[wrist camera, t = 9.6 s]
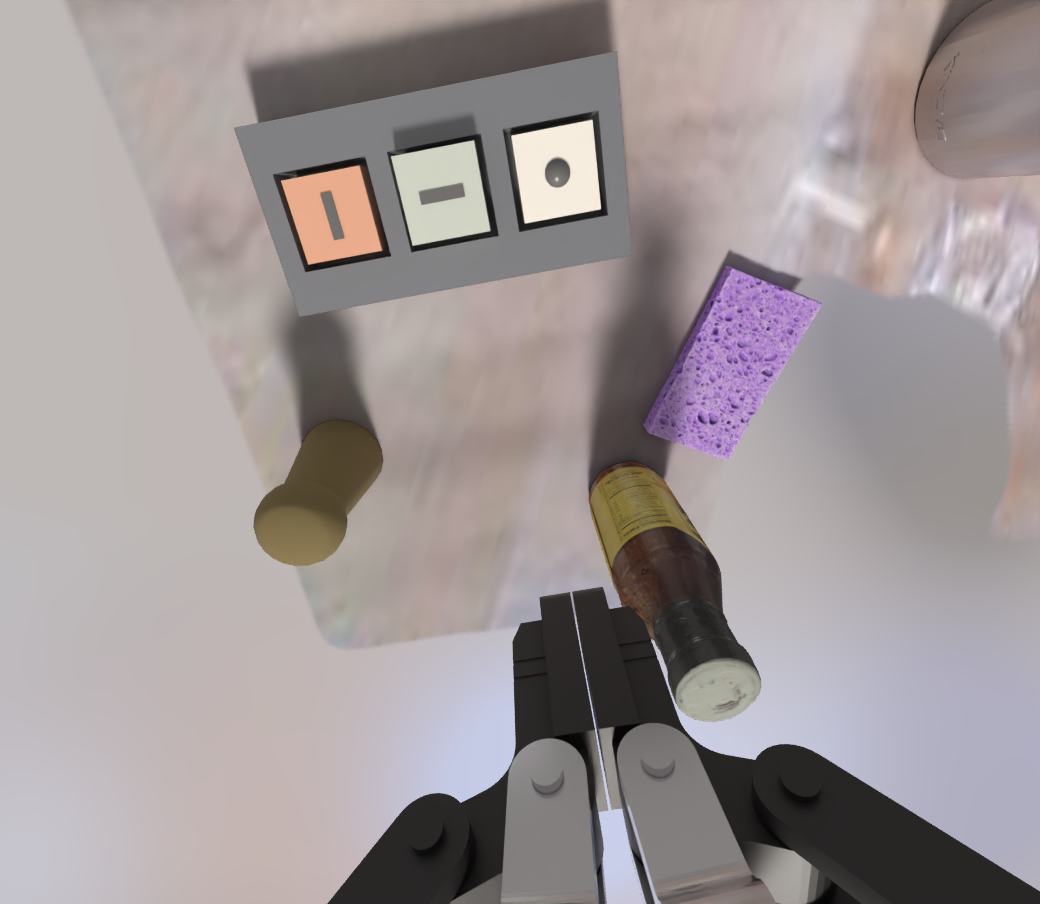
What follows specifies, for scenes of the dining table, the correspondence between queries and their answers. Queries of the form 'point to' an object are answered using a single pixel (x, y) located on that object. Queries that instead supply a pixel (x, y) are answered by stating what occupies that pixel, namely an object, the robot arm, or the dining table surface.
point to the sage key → (442, 192)
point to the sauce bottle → (672, 590)
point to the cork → (318, 493)
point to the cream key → (556, 171)
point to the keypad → (490, 123)
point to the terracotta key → (336, 214)
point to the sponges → (730, 362)
